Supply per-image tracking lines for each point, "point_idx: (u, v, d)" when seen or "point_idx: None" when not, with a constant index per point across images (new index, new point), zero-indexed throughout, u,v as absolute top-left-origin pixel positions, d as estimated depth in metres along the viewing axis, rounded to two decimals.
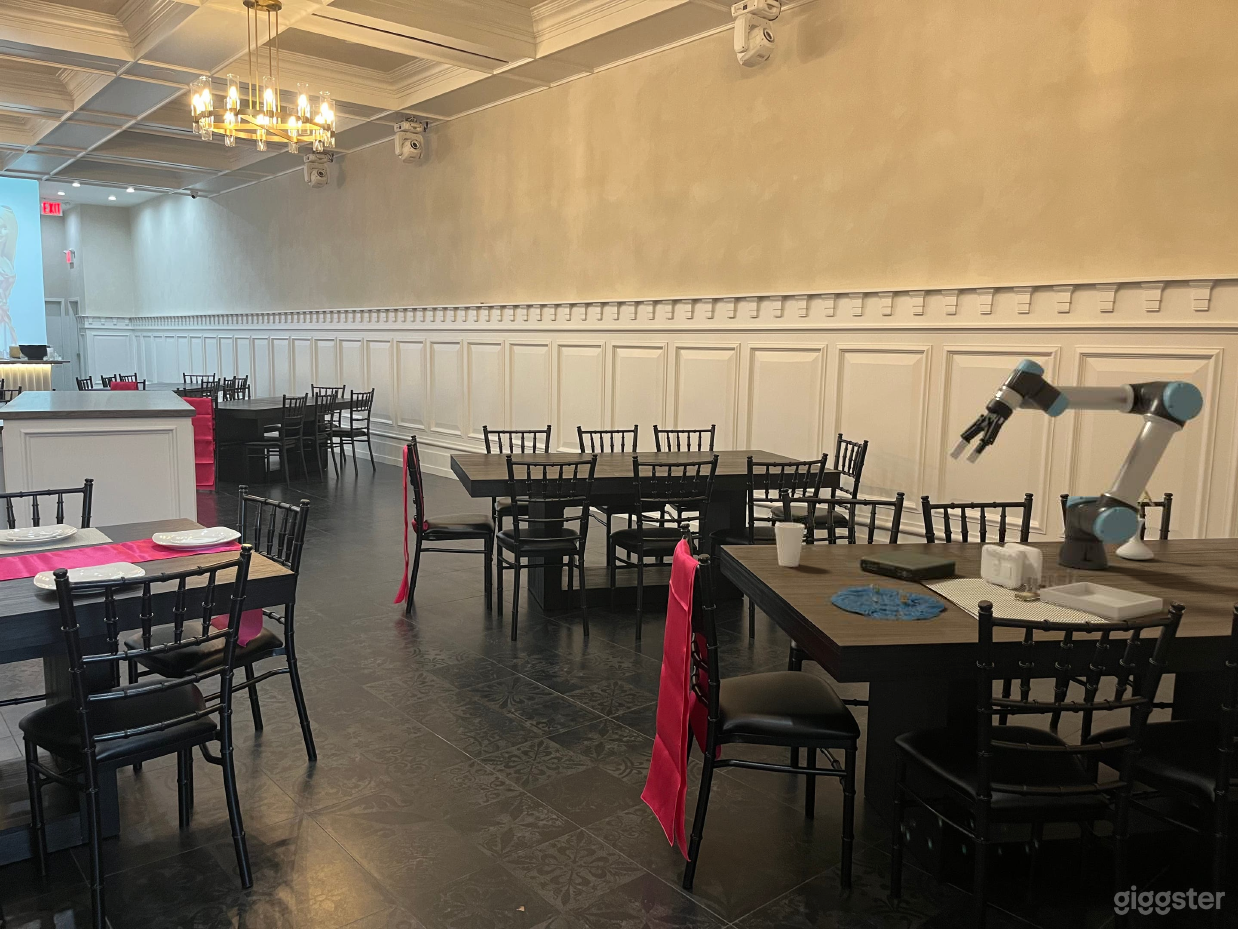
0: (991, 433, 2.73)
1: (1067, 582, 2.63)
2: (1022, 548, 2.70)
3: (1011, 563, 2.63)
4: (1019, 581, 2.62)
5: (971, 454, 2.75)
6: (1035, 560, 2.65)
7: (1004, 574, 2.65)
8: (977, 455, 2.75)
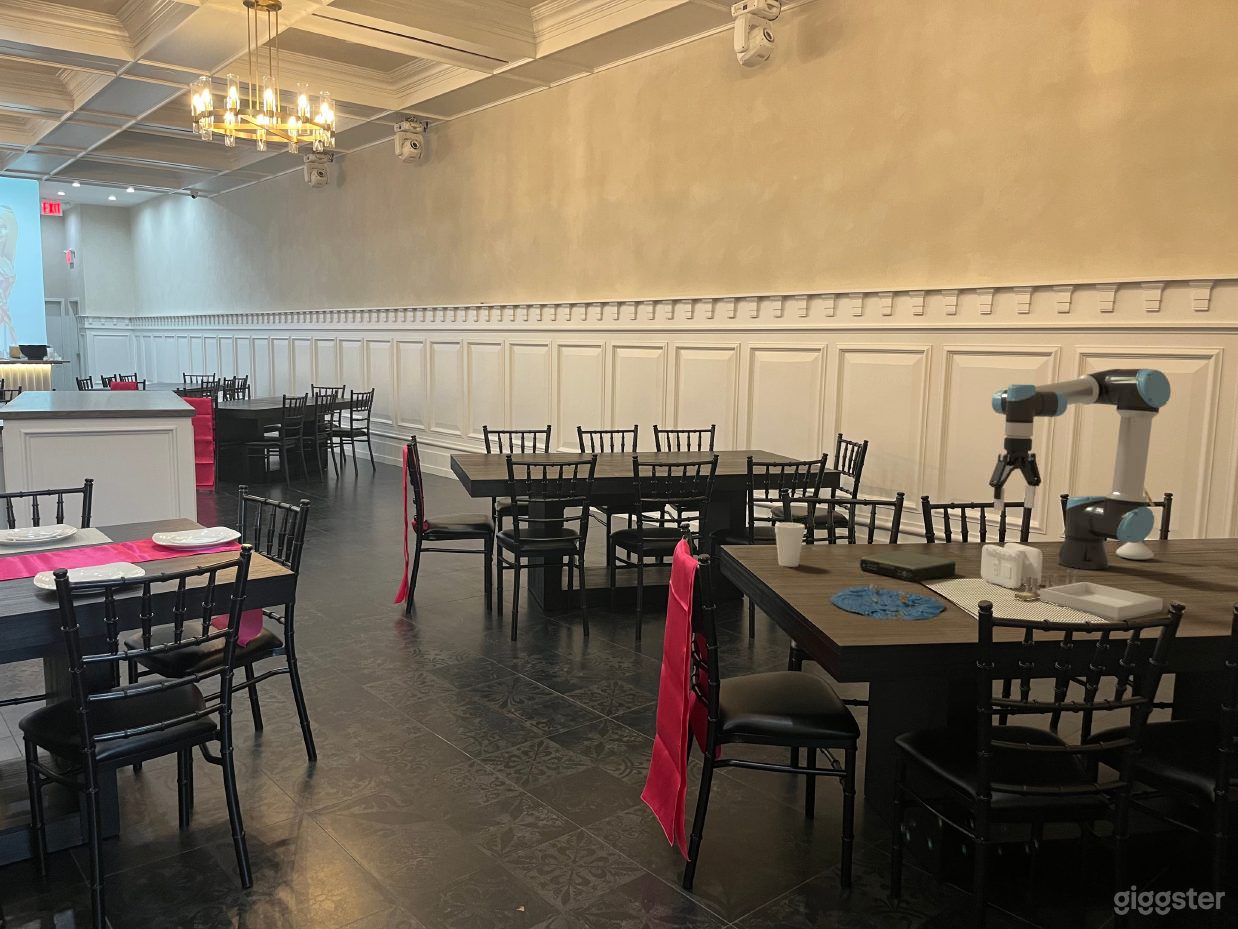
0: (993, 475, 2.63)
1: (1067, 582, 2.63)
2: (1022, 548, 2.70)
3: (1011, 563, 2.63)
4: (1019, 581, 2.62)
5: (995, 503, 2.65)
6: (1035, 560, 2.65)
7: (1004, 574, 2.65)
8: (1000, 501, 2.64)
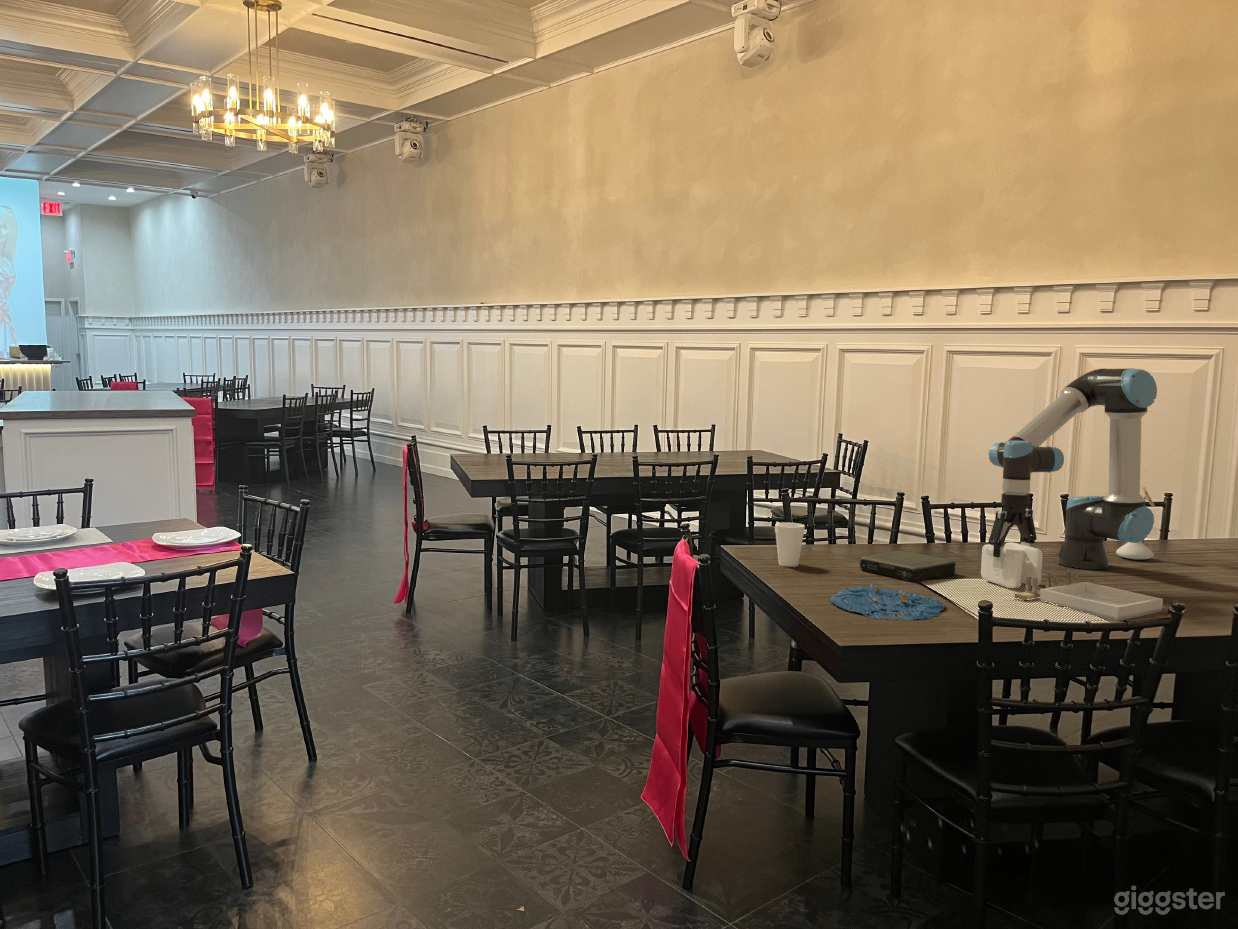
0: (992, 534, 2.65)
1: (1067, 582, 2.63)
2: (1022, 548, 2.70)
3: (1011, 563, 2.63)
4: (1019, 581, 2.62)
5: (994, 561, 2.67)
6: (1035, 560, 2.65)
7: (1004, 574, 2.65)
8: (999, 559, 2.66)
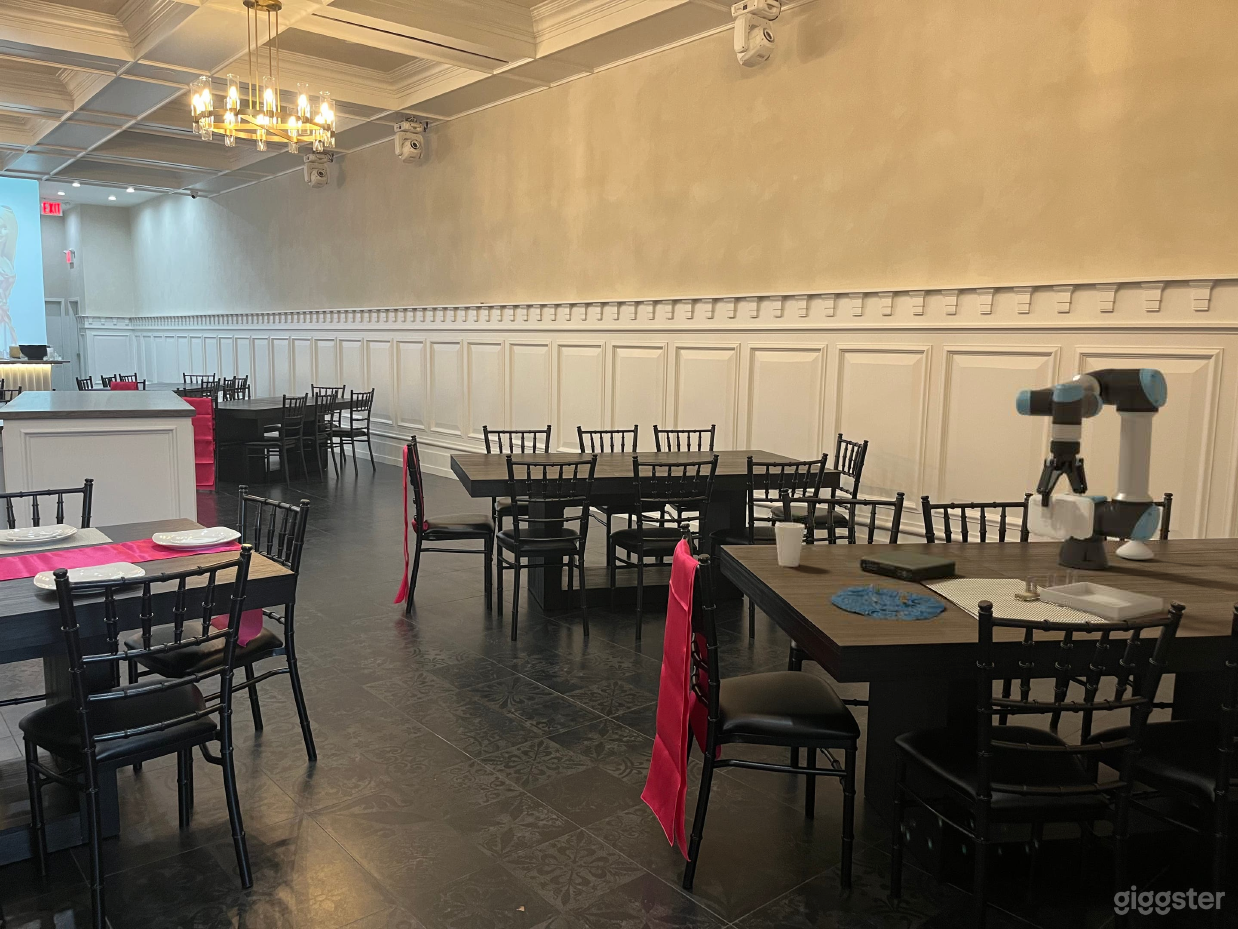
0: (1040, 482, 2.51)
1: (1067, 582, 2.63)
2: (1072, 498, 2.55)
3: (1060, 513, 2.48)
4: (1069, 531, 2.47)
5: (1042, 511, 2.53)
6: (1086, 510, 2.50)
7: (1053, 525, 2.51)
8: (1048, 509, 2.51)
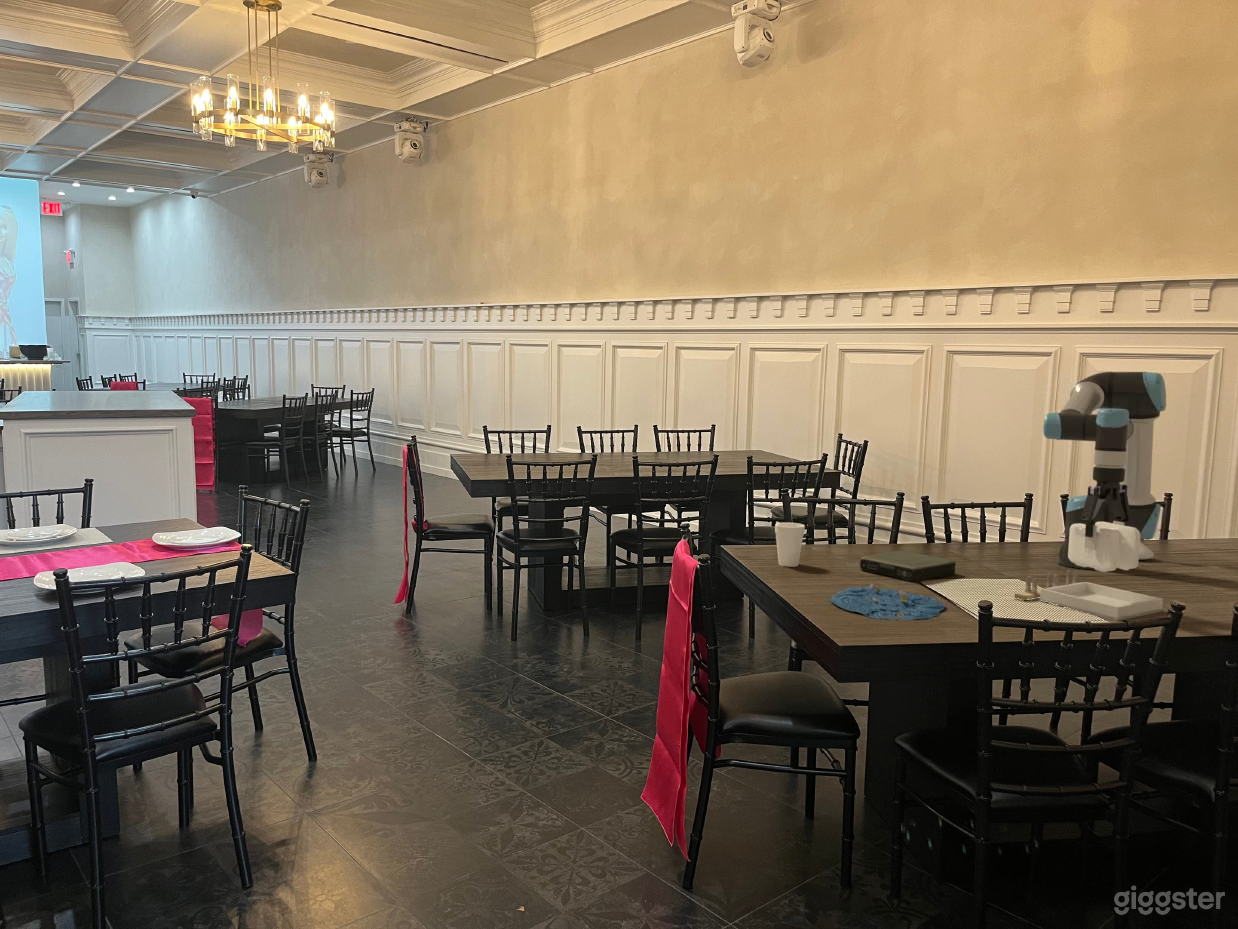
0: (1084, 511, 2.40)
1: (1067, 582, 2.63)
2: (1116, 527, 2.45)
3: (1106, 543, 2.38)
4: (1116, 563, 2.37)
5: (1086, 541, 2.42)
6: (1132, 540, 2.40)
7: (1098, 556, 2.40)
8: (1092, 539, 2.40)
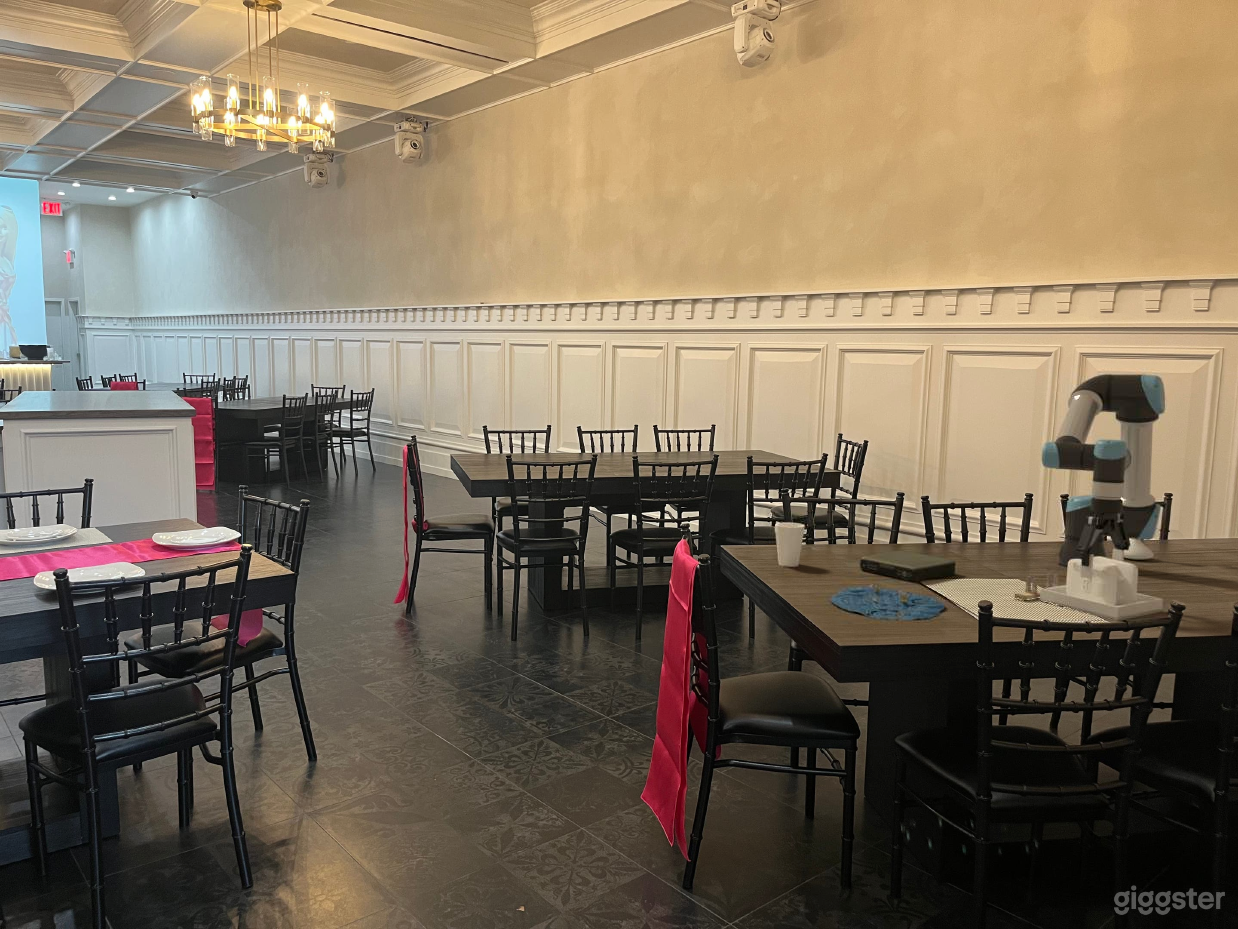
0: (1081, 540, 2.40)
1: None
2: (1113, 563, 2.46)
3: (1104, 580, 2.39)
4: (1114, 600, 2.38)
5: (1082, 570, 2.42)
6: (1130, 576, 2.41)
7: (1096, 592, 2.41)
8: (1088, 568, 2.41)
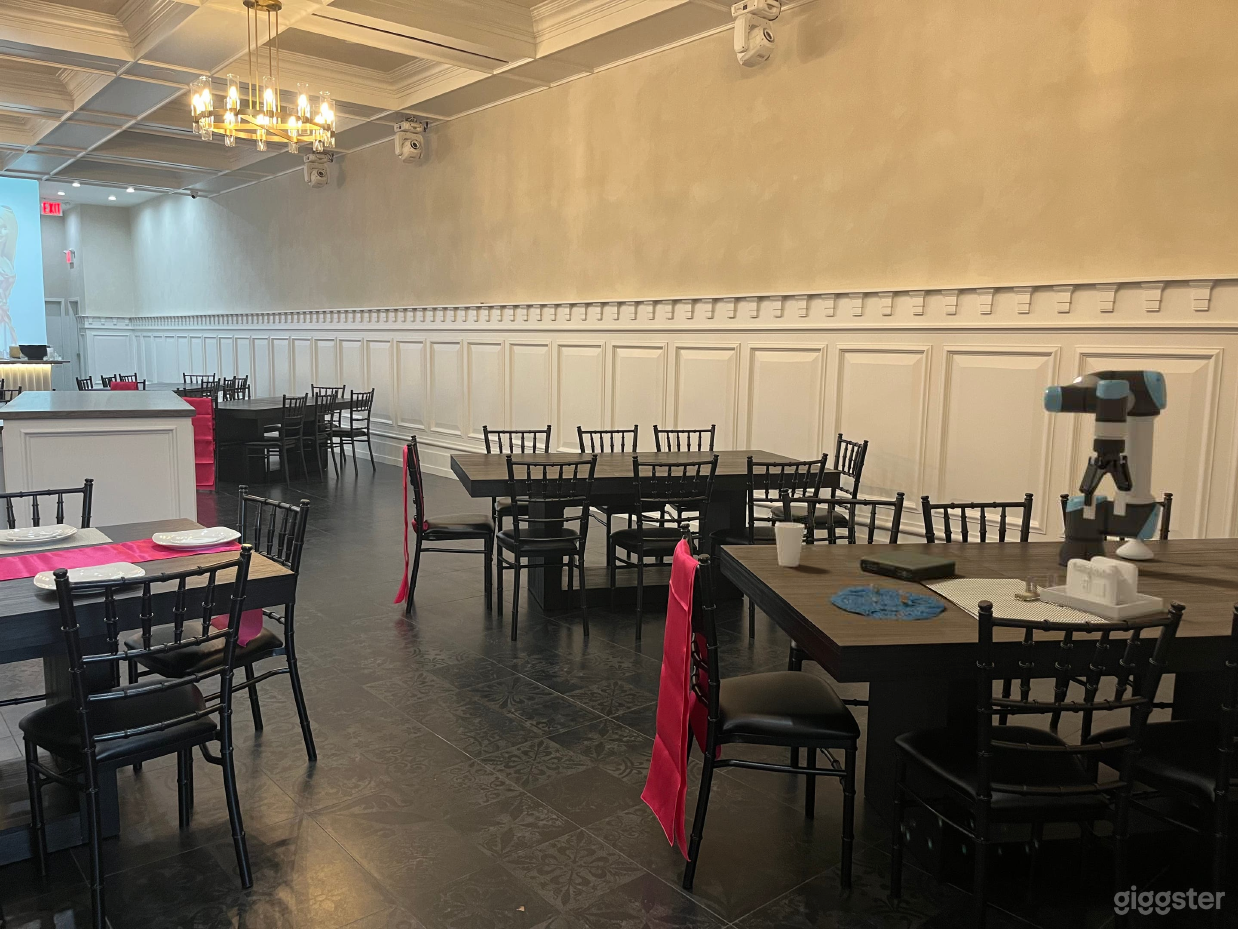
0: (1083, 480, 2.40)
1: None
2: (1113, 563, 2.46)
3: (1104, 580, 2.39)
4: (1114, 600, 2.38)
5: (1085, 510, 2.42)
6: (1130, 576, 2.41)
7: (1096, 592, 2.41)
8: (1091, 508, 2.40)
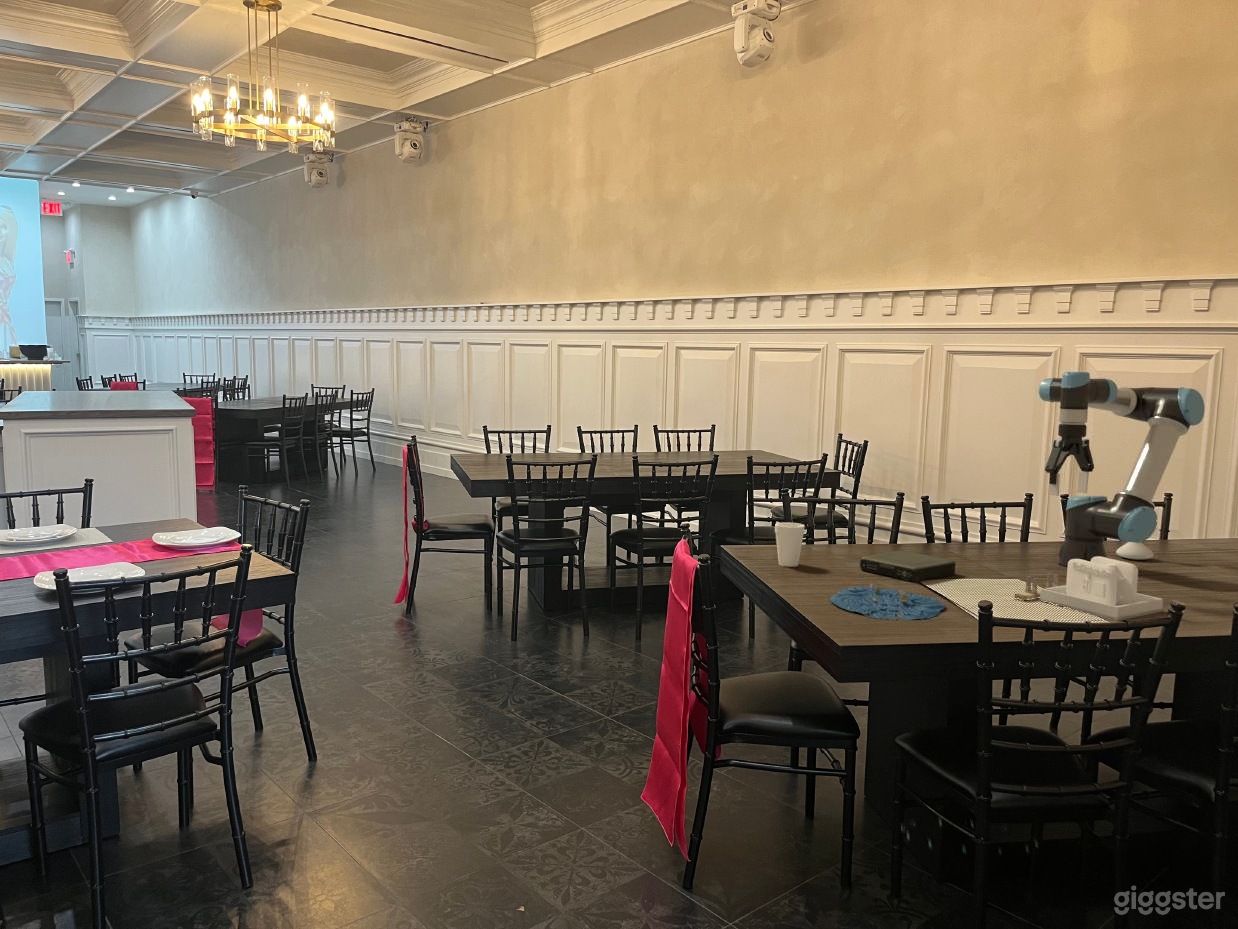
0: (1049, 461, 2.69)
1: None
2: (1113, 563, 2.46)
3: (1104, 580, 2.39)
4: (1114, 600, 2.38)
5: (1050, 488, 2.71)
6: (1130, 576, 2.41)
7: (1096, 592, 2.41)
8: (1055, 486, 2.69)
